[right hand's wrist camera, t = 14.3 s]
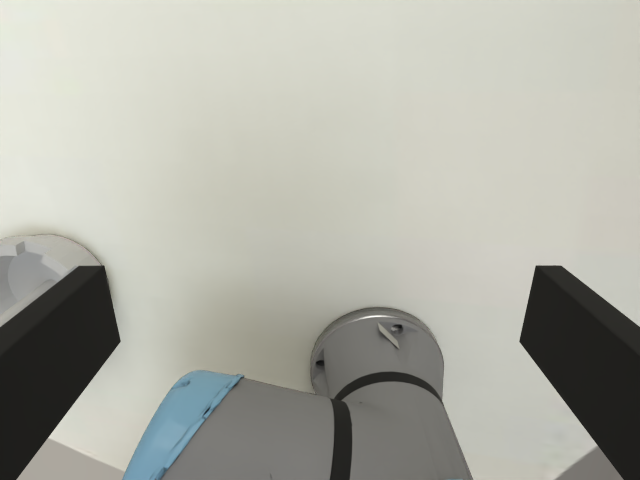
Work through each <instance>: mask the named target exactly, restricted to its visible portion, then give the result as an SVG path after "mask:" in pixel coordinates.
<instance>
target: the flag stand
mask: <svg viewBox="0 0 640 480" xmlns="http://www.w3.org/2000/svg"><path fill="white" fill-rule="evenodd" d="M78 266H101V264H100V263H99V261H98V260H97V259H96V258H95V257H94V256H93V255H92V253H90V252H89V251H88V250H87V249H85V248H84V247H83V246H81V245H79V244H78V243H76V242H74V241H72V240H69V239H67V238H64V237H60V236H56V235H44V234H42V235H35V236H14V237H7V238H4V239H1V240H0V327H1V326H2V325H4V324H5V323H6V322H7V321H9V320H10V319H11V318H12V317H14V316H15V315H16V314H18V313H19V312H20V311H21V310H23V309H24V308H25V307H27V306H28V305H29V304H30V303H32V302H33V301H34V300H36V299H37V298H38V297H39V296H41V295H42V294H43V293H45V292H46V291H47V290H48V289H50V288H51V287H52V286H54V285H55V284H56V283H57V282H59V281H60V280H61V279H62V278H64V277H65V276H66V275H68V274H69V273H70V272H71V271H73V270H74V269H75V268H77V267H78ZM106 277H107V276H106ZM107 281H108V279H107ZM108 286H109V285H108Z"/></svg>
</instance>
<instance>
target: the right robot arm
mask: <svg viewBox="0 0 640 480" xmlns="http://www.w3.org/2000/svg"><path fill="white" fill-rule="evenodd" d="M120 342H121V341H120V336H119V332H118V327H117V323H116V318H115V313H114V309H113V304H112V300H111V295H110V290H109V286H108V281H107V277H106V272H105V267H104V266H78V267H77V268H75V269H74V270H73V271H71V272H70V273H69V274H68V275H66V276H65V277H64V278H62V279H61V280H60V281H59V282H57V283H56V284H55V285H54V286H52V287H51V288H50V289H48V290H47V291H46V292H45V293H43V294H42V295H41V296H39V297H38V298H37V299H36V300H34V301H33V302H32V303H30V304H29V305H28V306H27V307H25V308H24V309H23V310H21V311H20V312H19V313H18V314H16V315H15V316H14V317H12V318H11V319H10V320H9V321H7V322H6V323H5V324H4V325H2V326H1V327H0V480H16V479H17V478H18V477H19V475H20V474H21V473H22V471H23V470H24V469H25V467H26V466H27V465H28V463H29V462H30V461H31V459H32V458H33V457H34V455H35V454H36V453H37V451H38V450H39V449H40V448H41V446H42V445H43V443H44V442H45V441H46V439H47V438H48V437H49V436H50V434H51V433H52V432H53V430H54V429H55V428H56V426H57V425H58V424H59V422H60V421H61V420H62V418H63V417H64V416H65V414H66V413H67V412H68V410H69V409H70V408H71V407H72V405H73V404H74V403H75V401H76V400H77V399H78V397H79V396H80V395H81V393H82V392H83V391H84V389H85V388H86V387H87V385H88V384H89V383H90V381H91V380H92V379H93V377H94V376H95V375H96V373H97V372H98V371H99V369H100V368H101V367H102V365H103V364H104V363H105V362H106V360H107V359H108V358H109V356H110V355H111V354H112V352H113V351H114V350H115V348H116V347H117V346H118V344H119V343H120ZM519 342H520V343H521V344H522V346H523V347H524V348H525V350H526V351H527V352H528V354H529V355H530V356H531V358H532V359H533V360H534V362H535V363H536V364H537V365H538V367H539V368H540V369H541V371H542V372H543V373H544V375H545V376H546V377H547V379H548V380H549V381H550V383H551V384H552V385H553V387H554V388H555V389H556V391H557V392H558V393H559V395H560V396H561V397H562V399H563V400H564V401H565V403H566V404H567V405H568V407H569V408H570V409H571V410H572V412H573V413H574V414H575V416H576V417H577V418H578V420H579V421H580V422H581V424H582V425H583V426H584V428H585V429H586V430H587V432H588V433H589V434H590V436H591V437H592V438H593V440H594V441H595V442H596V444H597V445H598V446H599V448H600V449H601V450H602V452H603V453H604V454H605V455H606V457H607V458H608V459H609V461H610V462H611V463H612V465H613V466H614V467H615V469H616V470H617V471H618V473H619V474H620V475H621V477H622V478H623V479H624V480H640V327H639V326H638V325H636V324H635V323H634V322H633V321H631V320H630V319H629V318H628V317H626V316H625V315H624V314H622V313H621V312H620V311H619V310H617V309H616V308H615V307H613V306H612V305H611V304H610V303H608V302H607V301H606V300H604V299H603V298H602V297H601V296H599V295H598V294H597V293H595V292H594V291H593V290H592V289H590V288H589V287H588V286H586V285H585V284H584V283H583V282H581V281H580V280H579V279H578V278H576V277H575V276H574V275H572V274H571V273H570V272H569V271H567V270H566V269H565V268H563V267H562V266H536V267H535V272H534V277H533V281H532V286H531V290H530V295H529V300H528V304H527V309H526V313H525V318H524V323H523V327H522V332H521V336H520V341H519ZM443 374H444V361H443V356H442V353H441V350H440V348H439V346H438V343H437V341H436V339H435V337H434V335H433V334H432V332H431V331H430V330H429V328H428V327H427V326H426V325H425V324H424V323H423V322H421V321H420V320H419V319H417V318H415V317H414V316H412V315H410V314H408V313H405V312H403V311H399V310H396V309H390V308H367V309H362V310H357V311H354V312H351V313H349V314H347V315H344V316H342V317H341V318H339V319H337V320H336V321H334V322H333V323H332V324H330V325H329V326H328V327H327V328H326V329H325V330H324V331H323V333H322V334H321V335H320V337H319V338H318V340H317V342H316V344H315V346H314V349H313V352H312V357H311V381H312V385H313V388H314V390H315V392H316V394H317V395H315V394H311V393H306V392H301V391H297V390H292V389H288V388H283V387H279V386H275V385H271V384H267V383H262V382H258V381H254V380H250V379H246V378H244V375H241V374H238V375H236V376H233V375H228V374H222V373H216V372H210V371H204V370H198V371H193V372H190V373H188V374H186V375H185V376H183V377H182V378H181V379H179V380H178V381H177V382H176V383H175V384H174V386H173V387H172V388H171V390H170V391H169V392H168V394H167V395H166V397H165V398H164V400H163V401H162V403H161V404H160V406H159V408H158V409H157V411H156V412H155V414H154V416H153V418H152V420H151V421H150V423H149V425H148V427H147V429H146V430H145V432H144V434H143V436H142V438H141V440H140V442H139V444H138V446H137V448H136V450H135V452H134V454H133V456H132V459H131V461H130V463H129V465H128V467H127V469H126V472H125V474H124V477H123V479H122V480H473V478H472V476H471V473H470V470H469V468H468V465H467V463H466V460H465V458H464V455H463V453H462V450H461V448H460V445H459V443H458V440H457V438H456V435H455V433H454V430H453V428H452V425H451V423H450V420H449V418H448V415H447V412H446V410H445V407H444V405H443V402H442V393H443Z"/></svg>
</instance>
